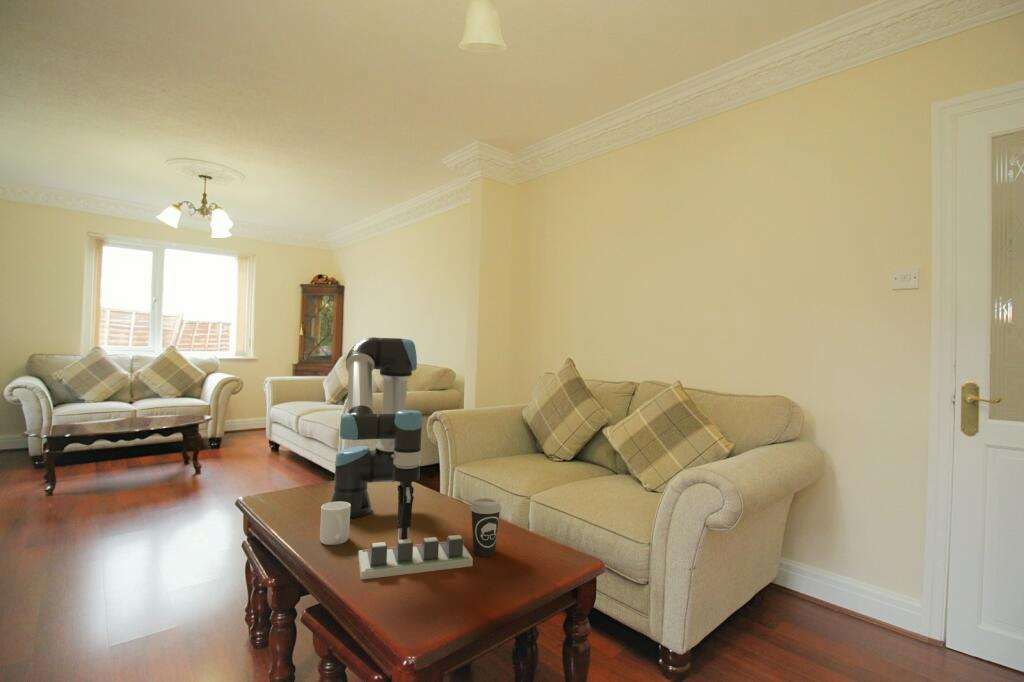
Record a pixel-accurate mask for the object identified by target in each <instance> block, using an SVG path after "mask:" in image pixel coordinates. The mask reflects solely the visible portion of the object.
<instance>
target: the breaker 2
mask: <svg viewBox="0 0 1024 682" xmlns="http://www.w3.org/2000/svg"><path fill="white" fill-rule="evenodd" d="M413 545H414V542H413V540H412V538H409V539H402V540H398V539H397V540H396V546H397V549H396V558H397V561H405V560H412V557H413Z"/></svg>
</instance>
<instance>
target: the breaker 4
mask: <svg viewBox="0 0 1024 682" xmlns="http://www.w3.org/2000/svg"><path fill="white" fill-rule="evenodd" d="M446 541H447V547H446V553H447V555H448V556H449V557H451V556H459V555H463V545H464V538H463V536H462V535H461V534H456V535H455V534H454V535H448V536H446Z"/></svg>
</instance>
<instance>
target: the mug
mask: <svg viewBox="0 0 1024 682" xmlns="http://www.w3.org/2000/svg"><path fill="white" fill-rule="evenodd" d="M350 508H351V505H350V503H348V502H330V501H329V502H326V503H323V504H322V505H321V507H320V509H321V510H320V525H319V526H320V527H319V528H320V529H319V541H320V543H321V544H323V545H327V546H335V545H336V546H337V545H342V544H343V543H346V542H347V541H348V540H349V538H350V525H351V524H350V523H351V522H350V521H351V518H350Z"/></svg>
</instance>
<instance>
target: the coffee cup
mask: <svg viewBox="0 0 1024 682" xmlns="http://www.w3.org/2000/svg"><path fill="white" fill-rule="evenodd" d="M469 510H470V511H471V525H472V527H471V528H472V529H471V530H472V531H471V533H472V552H473V554H474V555H475V556H479V557H490V556H493V555H494V554H495V552H496V544H497V536H498V527H499V521H500V513H501V511H502V506H501V504H500V501H499V500H498V499H496V498H495V499H494V498H490V497H480V498H476V499H474V500H473V501H472V503H471V505H470V507H469Z"/></svg>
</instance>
